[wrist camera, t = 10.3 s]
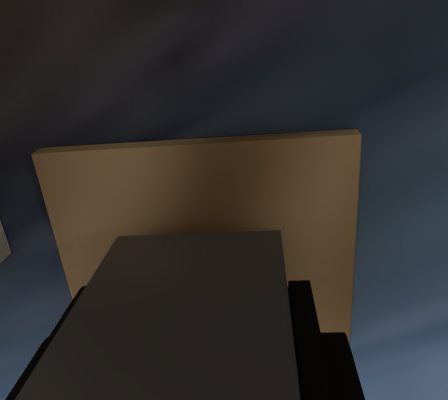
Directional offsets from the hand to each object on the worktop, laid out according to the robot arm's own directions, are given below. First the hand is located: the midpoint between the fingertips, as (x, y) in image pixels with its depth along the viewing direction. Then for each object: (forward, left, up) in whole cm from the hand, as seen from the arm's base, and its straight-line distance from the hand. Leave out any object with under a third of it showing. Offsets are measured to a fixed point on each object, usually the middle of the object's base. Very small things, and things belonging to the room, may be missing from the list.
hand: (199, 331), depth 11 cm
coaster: (0, 0, -3) cm, 3 cm away
